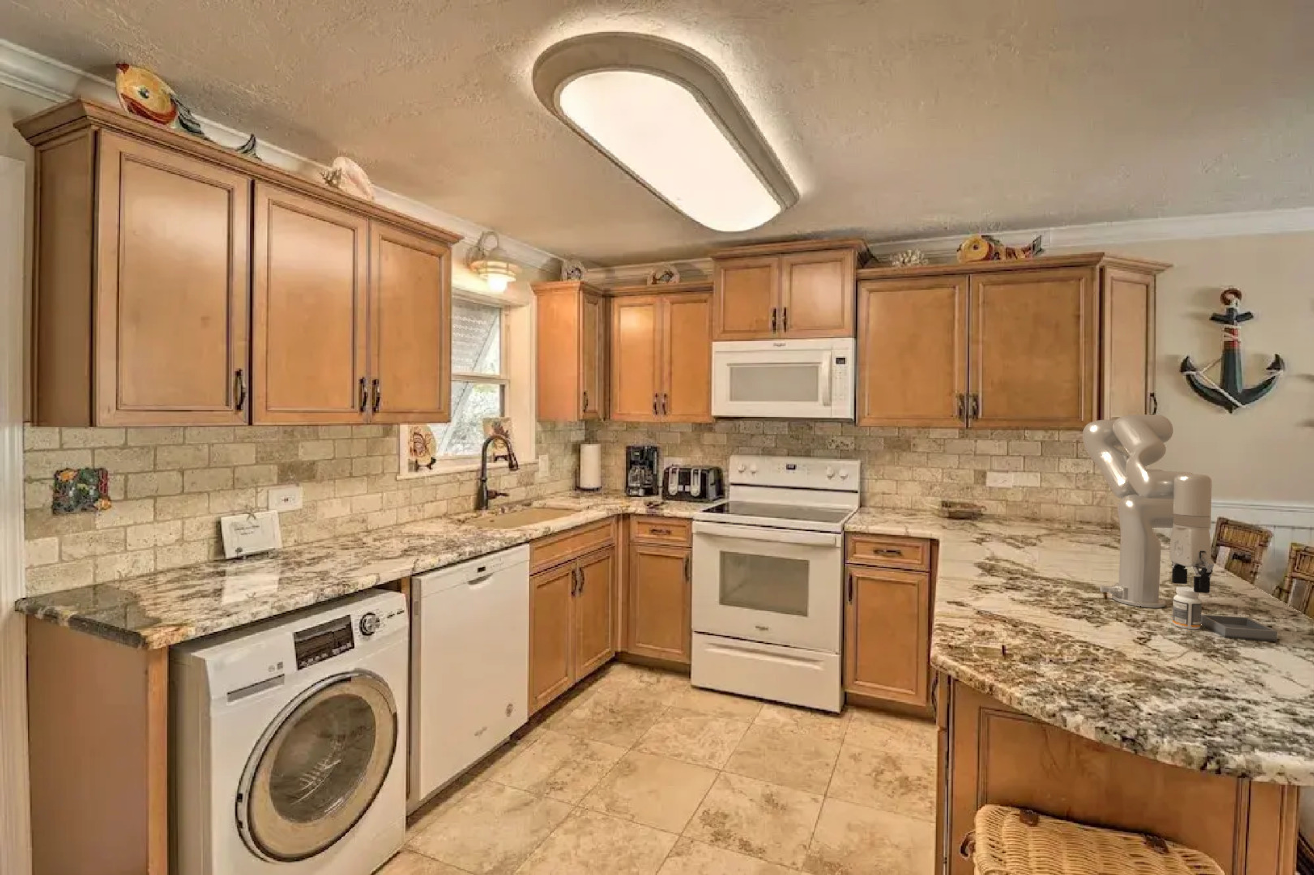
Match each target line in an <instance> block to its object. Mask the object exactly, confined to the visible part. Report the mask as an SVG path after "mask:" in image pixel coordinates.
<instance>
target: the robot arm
mask: <svg viewBox="0 0 1314 875" xmlns="http://www.w3.org/2000/svg"><path fill="white" fill-rule="evenodd" d="M1173 435H1174V426H1173V424H1172V422H1171V420H1169V419H1168V418H1167V416H1164V415H1160V414H1127V415H1122V416H1119V417H1118V418H1117V419H1099V420H1093V421H1091V422H1089V423H1087V424H1086V425H1085V426H1084V428H1083V431H1082V443H1083V446H1084V450H1085V451H1086V453H1087V454H1088V456H1089V457H1090V459H1091V460H1092V461H1093V463H1094V464H1096V466H1097V467H1098V469H1099V470H1100V472H1101V473H1102V476H1103V477H1104V479H1105V481H1106V483H1107V486H1108V487H1109V488H1110V491H1111V492H1112V493H1113V495H1115V496H1116V497H1117V498H1119V499H1120V500H1119V501H1118V504H1117V515H1118V520H1119V529H1120V530H1119V532H1120V542H1119V547H1120V548H1119V566H1118V567H1119V571H1118V574H1119V575H1118V582H1114V584H1112V585H1111V586H1109V585H1101V584H1100V586H1099V591H1100V593H1108V594H1110V595H1111V598H1112V599H1113V600H1114V601H1116V602H1118V603H1122V604H1126V605H1130V606H1134V607H1140V606H1141V607H1140V608H1148V609H1149V608H1151V609H1152V608H1153V609H1154V608H1155V609H1157V608H1159V609H1161V608H1164V607H1165V606H1166V600H1165V599H1163V598H1161V597H1160V585H1161V584H1160V583H1161V582H1160V581H1161V579H1160V577H1161V559H1162V556H1161V555H1162V545H1161V541H1160V539H1159V537H1158V536H1157V534H1156V533H1155V531H1153V529H1161V528H1162V529H1171V532H1170V540H1169V553H1168V559H1169V560H1170V562H1171V565H1170V566H1171V582H1172V584H1175V585H1176V584H1177V585H1178V584H1180V585H1186V584H1188V568H1192V569H1193V572H1194V574H1195V575H1194V576H1193V588H1194V592H1197V593H1199V594H1210V592H1211V591H1210V589H1211V588H1210V587H1211V578H1212V573H1213V569H1214V566H1215V561H1214V560H1213V559H1212V543H1211V542H1212V541H1211V534H1210V530H1211V529H1212V491H1213V490H1212V488H1213V487H1212V486H1213V485H1212V484H1213V482H1212V478H1211V477H1210V476H1209V475H1207V474H1198V473H1193V472H1187V471H1171V470H1170V471H1169V470H1167V471H1166V470H1162V469H1157V468H1147V466H1151V465H1152V464H1155V463H1158V462H1159V461H1160V460H1161V459H1162V458H1163V457H1164V456H1165V454H1166V451H1167V447H1166V445H1165V443H1166V442H1168V441H1169V440H1171V438H1172V436H1173ZM1117 447H1123V448H1124V449H1125V450H1126V452H1127V453H1128V454H1129V455H1128V454H1126V453H1125V452H1124V451H1122V450H1120V449H1118V448H1117Z"/></svg>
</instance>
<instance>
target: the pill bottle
mask: <svg viewBox="0 0 1314 875" xmlns="http://www.w3.org/2000/svg"><path fill="white" fill-rule="evenodd" d="M1175 592H1176V595H1174V596H1173V598H1172V624H1173V625H1174V626H1176V627H1178V628H1182V629H1185V628H1188V629H1187V630H1199V629H1200V628H1201V626H1202V625H1201V614H1202V604H1203V603H1202V600H1201V599H1200V598H1199V596H1200V593H1197V592H1194V587H1189V586H1177V587H1176V588H1175Z"/></svg>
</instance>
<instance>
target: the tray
mask: <svg viewBox="0 0 1314 875" xmlns="http://www.w3.org/2000/svg"><path fill="white" fill-rule="evenodd" d="M1201 624H1202V625H1201V626H1203V627H1204V626H1205V628H1206V629H1208V628H1209V629H1208V630H1210V629H1211V630H1210V631H1212V632H1214V633H1215V632H1216V634H1218V635H1219V636H1221V637H1223V638H1225V639H1236V640H1237V639H1238V640H1250V641H1251V640H1252V641H1264V642H1278V631H1277V630H1275V629H1273V628H1271V627H1269V626H1268V625H1267V626H1266V625H1264V624H1262V623H1260V622H1259V621H1256V620H1254V619H1251V618H1250V617H1246V616H1244V617H1243V616H1233V615H1232V616H1231V615H1230V616H1228V615H1216V614H1202V613H1201Z"/></svg>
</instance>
